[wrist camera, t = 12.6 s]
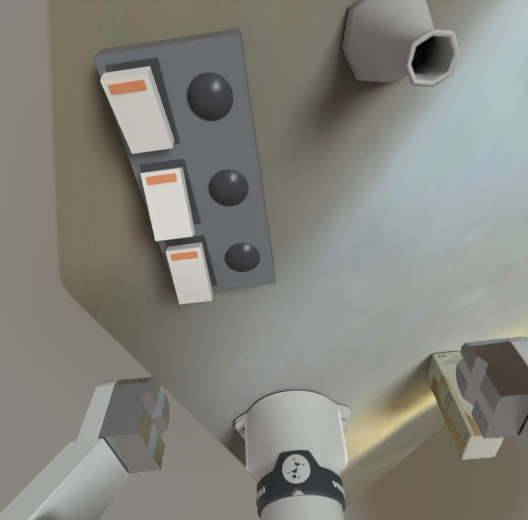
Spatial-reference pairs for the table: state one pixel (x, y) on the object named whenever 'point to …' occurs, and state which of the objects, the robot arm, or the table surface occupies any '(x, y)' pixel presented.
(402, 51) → the flask
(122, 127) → the rocker
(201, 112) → the grey rocker switch panel
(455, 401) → the skincare box
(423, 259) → the table surface
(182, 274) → the rocker
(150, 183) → the rocker middle
